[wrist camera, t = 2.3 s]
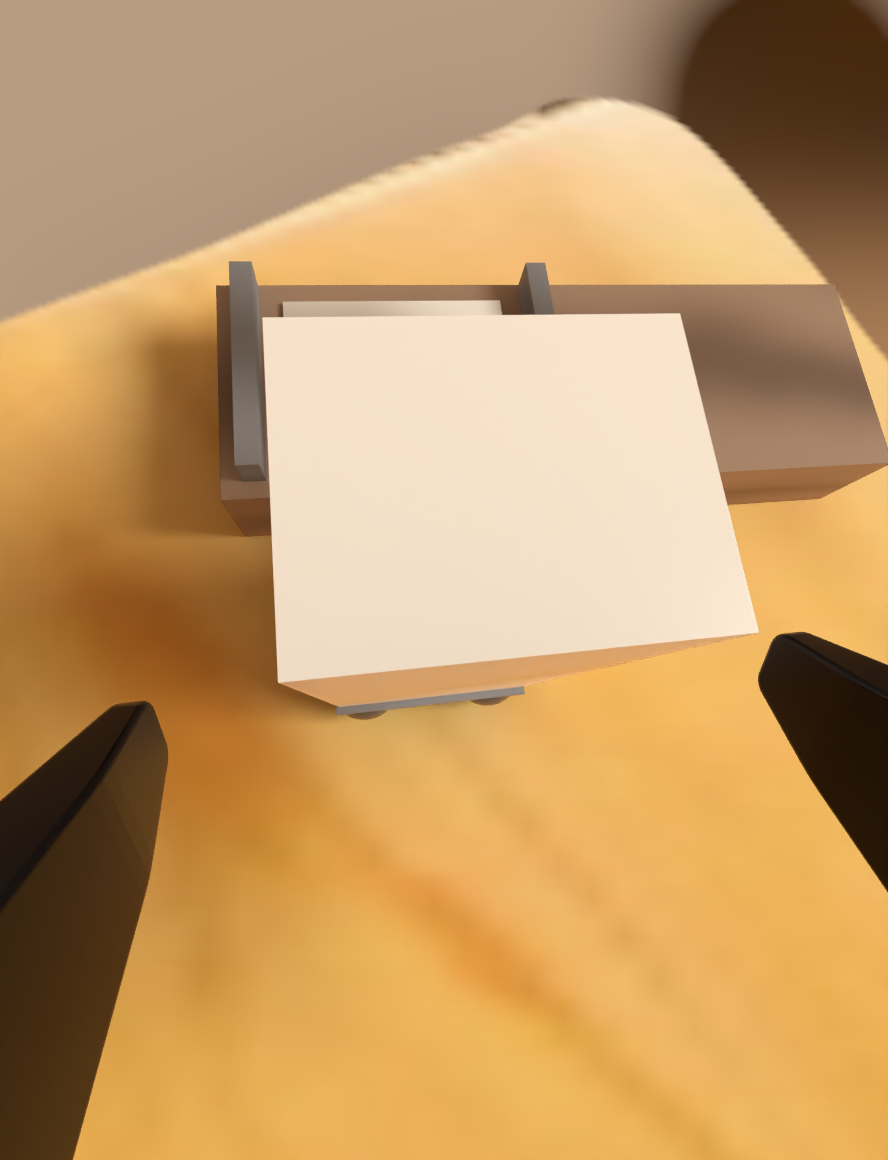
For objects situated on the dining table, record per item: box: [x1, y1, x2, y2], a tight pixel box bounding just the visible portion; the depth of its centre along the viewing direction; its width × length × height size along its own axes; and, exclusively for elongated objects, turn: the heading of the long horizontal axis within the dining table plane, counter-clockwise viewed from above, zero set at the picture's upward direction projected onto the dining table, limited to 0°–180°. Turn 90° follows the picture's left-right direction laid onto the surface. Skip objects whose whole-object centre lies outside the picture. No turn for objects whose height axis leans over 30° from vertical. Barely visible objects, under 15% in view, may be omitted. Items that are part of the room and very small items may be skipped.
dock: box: [216, 261, 888, 536], centre depth 18 cm, size 7×21×4 cm, turn 97°
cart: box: [262, 313, 759, 720], centre depth 12 cm, size 5×6×12 cm
